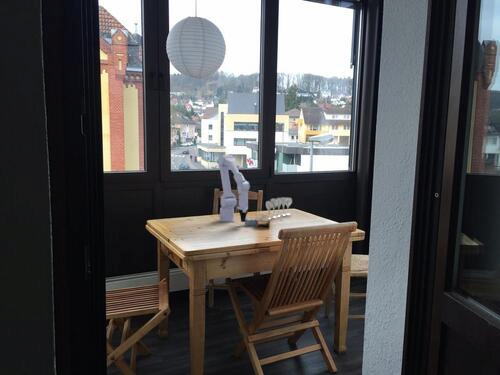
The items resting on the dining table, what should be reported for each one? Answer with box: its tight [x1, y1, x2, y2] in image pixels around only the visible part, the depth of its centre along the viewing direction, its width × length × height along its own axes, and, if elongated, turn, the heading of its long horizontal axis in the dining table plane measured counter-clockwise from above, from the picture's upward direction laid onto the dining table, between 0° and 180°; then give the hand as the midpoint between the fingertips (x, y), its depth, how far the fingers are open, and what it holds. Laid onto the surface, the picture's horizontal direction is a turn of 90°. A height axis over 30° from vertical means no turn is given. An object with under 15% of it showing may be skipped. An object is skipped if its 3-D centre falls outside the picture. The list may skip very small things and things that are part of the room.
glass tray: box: [244, 217, 256, 227], centre depth 269 cm, size 7×5×4 cm
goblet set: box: [265, 196, 293, 220], centre depth 301 cm, size 28×6×13 cm, turn 140°
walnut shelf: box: [255, 214, 271, 229], centre depth 269 cm, size 8×17×5 cm, turn 179°
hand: (243, 221), depth 269 cm, fingers closed
